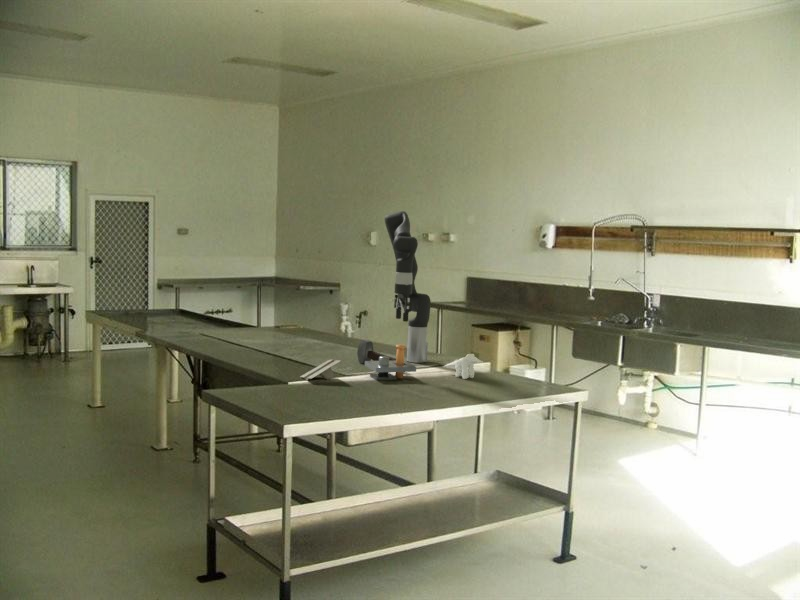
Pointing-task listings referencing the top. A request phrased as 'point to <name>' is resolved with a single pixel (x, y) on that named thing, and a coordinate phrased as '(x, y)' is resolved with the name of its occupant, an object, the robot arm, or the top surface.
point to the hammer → (368, 352)
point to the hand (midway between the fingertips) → (401, 320)
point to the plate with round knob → (387, 368)
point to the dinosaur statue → (464, 366)
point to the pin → (400, 359)
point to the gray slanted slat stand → (321, 370)
